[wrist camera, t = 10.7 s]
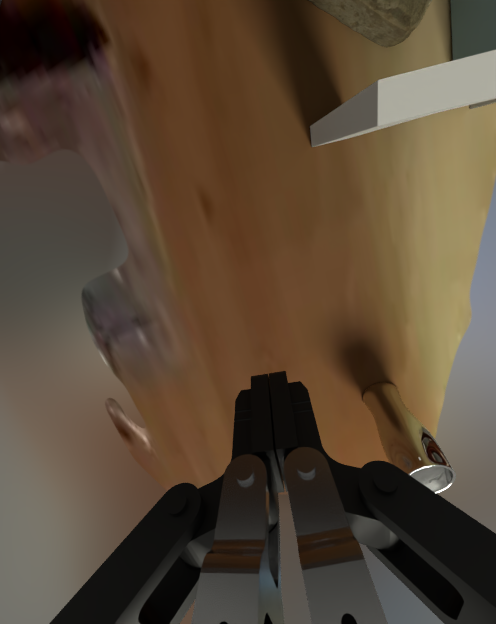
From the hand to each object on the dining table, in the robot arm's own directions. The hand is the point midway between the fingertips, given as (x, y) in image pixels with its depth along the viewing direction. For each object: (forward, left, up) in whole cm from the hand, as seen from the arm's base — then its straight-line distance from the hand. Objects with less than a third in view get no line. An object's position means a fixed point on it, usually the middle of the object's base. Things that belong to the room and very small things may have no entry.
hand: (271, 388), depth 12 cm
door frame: (+18, +10, -27) cm, 34 cm away
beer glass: (+16, -31, -27) cm, 44 cm away
